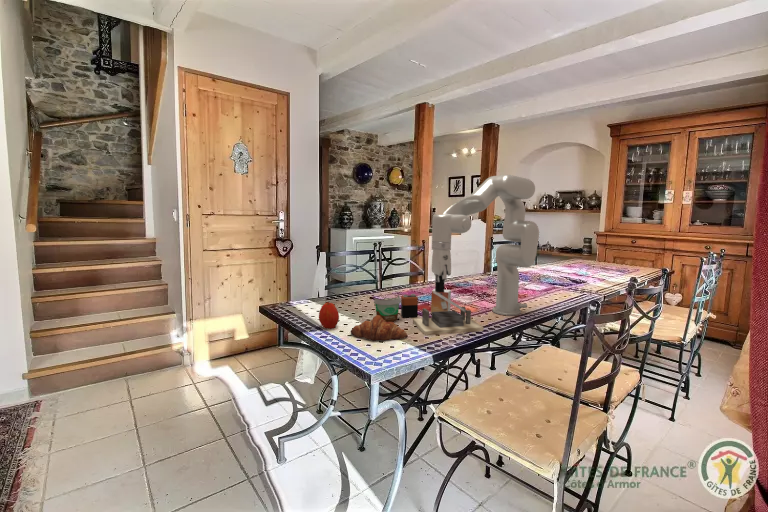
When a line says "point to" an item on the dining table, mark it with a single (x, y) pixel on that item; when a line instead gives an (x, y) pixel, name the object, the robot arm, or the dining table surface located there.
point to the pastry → (378, 330)
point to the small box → (440, 301)
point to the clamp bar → (449, 301)
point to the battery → (409, 306)
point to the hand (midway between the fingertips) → (439, 291)
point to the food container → (388, 308)
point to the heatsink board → (446, 322)
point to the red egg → (328, 316)
